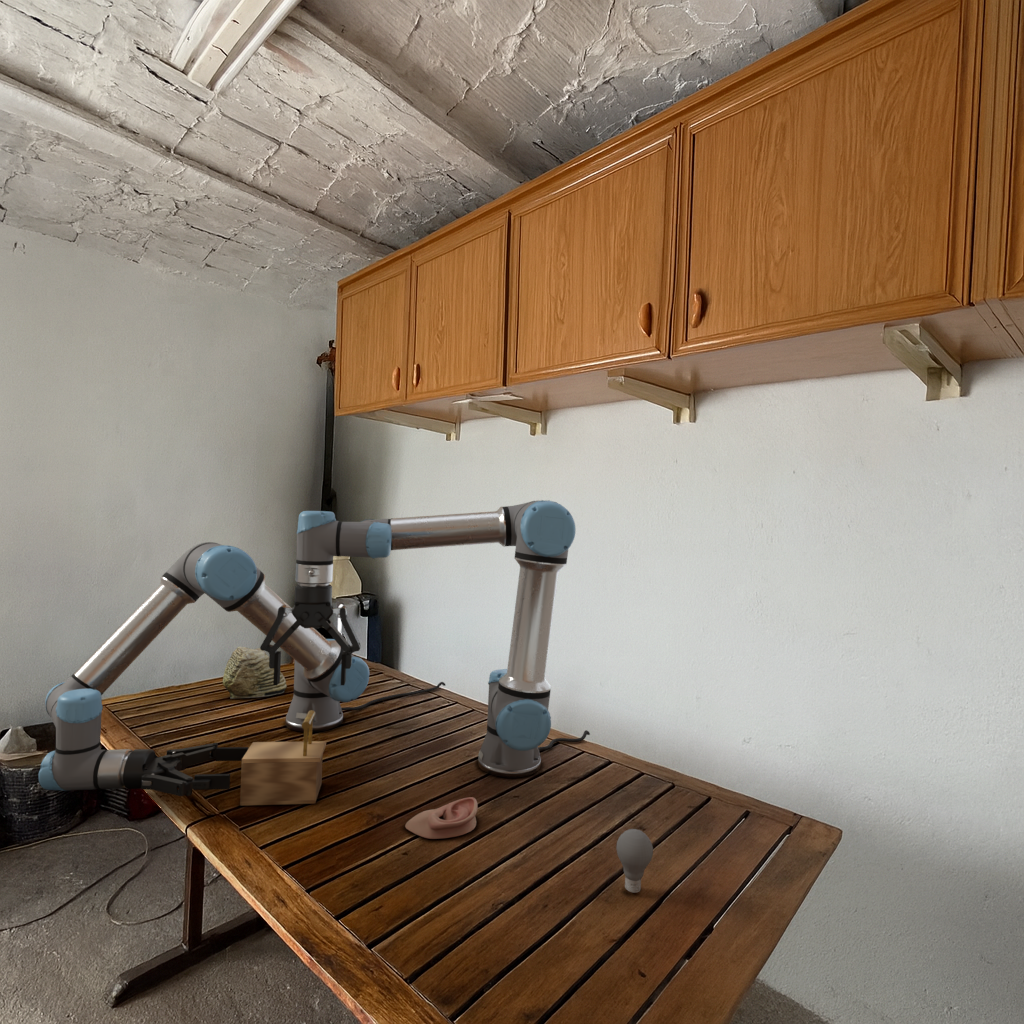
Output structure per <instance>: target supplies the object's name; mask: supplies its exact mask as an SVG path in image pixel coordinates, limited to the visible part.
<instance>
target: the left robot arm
mask: <svg viewBox="0 0 1024 1024" xmlns="http://www.w3.org/2000/svg"><path fill="white" fill-rule="evenodd" d="M204 594H205V595H206V596H208V598H210V599H211V600H213V602H215V603H216V604H217V605H218V606H220V607H221V608H222V609H223V610H224V611H226V612H228V613H232V612H237V613H239V614H240V615H241V616H242V617H244V618H245V619H246V620H247V621H248V622H249V623H251V624H252V626H254V627H256V629H258V630H259V631H260V632H261V633H262V634H263V635H265V637H266V636H267V634H268V632H269V631H270V629H271V627H272V625H273V623H274V622H275V620H276V618H277V614H278V609H279V607H281V606H282V605H285V606H286V607H291V606H290V605H289V604H288V603H287V602H286V601H284V599H282V598H281V597H280V596H279V595H278V594H277V593H276V592H275V591H274V590H273V589H271V588H270V587H269V586H268V585H267V584H266V574H265V573H264V572H263V571H262V570H261V569H259V568H258V567H257V564H256V562H255V561H254V559H253V558H252V557H251V556H250V555H249V554H248V553H247V552H246V551H244V550H243V549H242V548H240V547H236V546H233V545H226V544H221V543H218V542H212V541H207V542H201V543H198V544H196V545H194V546H192V547H190V548H189V549H188V550H186V551H185V552H184V553H183V554H182V555H181V556H180V557H179V558H178V559H177V560H176V561H175V562H173V564H172V565H171V566H170V567H169V568H168V569H167V570H166V572H164V573H163V574H162V575H161V577H160V584H159V585H158V586H157V587H156V588H155V589H154V590H153V591H152V592H151V593H150V594H149V595H148V596H147V597H146V599H144V601H142V602H141V603H140V605H139V606H137V608H135V610H133V612H132V613H131V614H129V616H128V617H126V619H125V620H124V621H123V622H122V623H121V624H120V625H119V626H118V627H117V628H116V629H115V630H114V631H113V632H112V633H111V634H110V635H109V636H108V637H107V638H106V640H105V641H104V642H103V643H102V644H101V645H99V646H98V648H97V649H96V650H95V651H94V652H93V653H92V654H91V655H89V657H88V658H87V659H86V660H85V661H84V662H83V663H82V664H81V665H80V666H79V667H78V668H77V669H76V670H75V671H74V672H73V673H72V674H71V675H70V676H69V677H68V678H67V679H66V680H65V681H63V682H60V683H58V684H56V685H54V686H53V687H51V689H49V691H48V692H47V693H46V696H45V699H44V704H45V711H46V713H47V715H48V716H49V717H50V718H51V721H52V723H53V725H54V727H55V750H52V751H49V752H48V753H47V754H46V755H45V756H44V757H43V759H42V760H41V763H40V769H39V771H38V783H39V785H40V787H41V788H42V789H43V790H46V791H63V792H70V791H85V790H86V791H89V790H110V791H111V792H114V791H116V790H123V789H125V788H126V789H127V790H148V791H149V790H152V791H155V792H159V793H164V794H168V795H173V796H178V797H184V796H187V797H190V796H192V795H193V791H203V790H204V791H206V790H208V791H209V790H211V791H212V790H229V789H230V788H231V773H213V774H212V773H205V774H204V773H203V774H201V773H200V774H194V775H193V776H191V775H188V774H186V773H185V772H182V771H184V770H186V769H187V768H188V767H192V766H195V765H199V764H203V763H207V762H210V761H213V760H215V762H237V761H238V762H242V758H243V757H244V755H245V754H246V752H247V751H248V749H249V746H228V747H226V746H223V747H222V746H221V747H220V746H219V743H218V742H213V743H206V744H201V745H195V746H189V747H184V748H174V749H168V750H166V754H165V755H163V756H157V754H156V751H155V750H154V749H153V748H152V749H151V748H145V749H144V748H136V749H131V748H122V749H102V748H101V742H102V741H101V734H102V715H103V714H102V713H103V709H104V706H103V704H102V703H103V702H102V701H103V699H102V698H103V697H102V696H103V694H104V693H105V692H106V691H107V690H108V689H109V688H110V687H112V685H113V684H114V682H116V681H117V679H118V678H119V677H121V675H123V673H124V672H125V671H126V670H127V669H128V668H129V667H130V666H131V664H132V663H133V662H134V661H135V660H136V659H137V658H139V656H140V655H141V654H142V652H144V651H145V650H146V649H147V647H148V646H149V645H150V644H151V643H153V641H154V640H155V639H156V638H157V637H158V636H159V635H160V634H162V632H163V631H164V630H165V628H166V627H168V625H170V624H171V622H172V621H173V620H174V619H176V617H177V616H178V615H179V614H180V613H181V612H182V611H183V610H184V608H185V607H186V606H187V605H190V604H195V603H196V602H197V601H198V600H199V598H201V597H202V596H203V595H204ZM296 621H297V620H296V619H295V617H294V616H293V614H292V613H289V615H288V616H287V617H285V618H284V620H283V621H282V623H281V625H280V627H279V629H278V630H277V632H276V634H275V636H274V637H273V639H272V641H271V642H273V643H274V644H275V643H276V642H277V641H278V640H279V639H280V638H281V637H282V636H283V634H284V633H285V632H286V631H287V630H288V629H289V628H290V627H291V626H292V625H293V624H294V623H295V622H296ZM279 649H281V650H282V651H284V652H285V653H286V654H287V655H288V656H289V657H291V658H292V659H293V660H294V672H293V695H292V696H293V697H292V699H291V702H290V704H289V708H288V711H287V713H286V715H285V726H286V728H287V729H289V730H291V731H294V732H295V731H296V732H301V733H304V729H303V728H302V724H303V722H304V720H305V718H306V716H307V714H308V712H309V711H310V710H313V711H315V717H314V719H313V728H312V733H316V732H325V731H329V730H332V729H335V728H337V727H339V726H340V725H342V723H343V722H344V713H343V711H344V712H345V711H358V710H362V709H364V708H366V707H368V706H370V705H372V704H376V703H378V702H382V701H385V700H389V699H395V698H400V697H406V696H413V695H419V694H423V693H429V692H432V691H437V689H439V688H440V687H441V686H445V687H446V683H445V682H444V681H440V682H439V683H438V684H437V685H435V686H433V687H430V688H425V689H421V690H415V691H410V692H403V693H402V692H401V693H396V694H392V695H387V696H382V697H379V698H375V699H372V700H369V701H368V702H366V703H364V704H361V705H358V706H344V707H343V706H341V703H350V702H353V701H355V700H356V699H358V698H359V697H361V695H362V694H363V693H364V692H365V690H366V689H367V687H368V684H369V682H370V668H369V665H368V664H367V662H366V661H365V660H364V659H362V658H361V657H359V656H356V655H354V654H352V665H351V667H350V669H346V682H345V685H341V662H342V653H343V652H345V651H344V650H343V649H342V648H341V647H340V645H339V644H338V643H337V642H336V641H335V639H334V638H326V637H324V635H322V634H321V633H320V632H319V631H318V630H317V629H316V628H312V627H311V628H304V627H302V626H299V627H298V628H297V629H296V630H295V631H294V632H293V633H292V634H291V635H290V637H289V638H288V639H287V640H286V641H285V642H284V643H283V644H282V645H281V646H280V647H279ZM308 733H309V729H308Z"/></svg>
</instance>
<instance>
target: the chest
mask: <svg viewBox="0 0 1024 1024" xmlns="http://www.w3.org/2000/svg"><path fill="white" fill-rule="evenodd" d="M323 757H324V754H323V755H322V758H321V761H320V762H285V763H242V762H241V769H240V772H241V773H240V793H239V795H240V798H239V799H240V800H239V806H242V807H243V806H278V805H281V806H282V805H309V804H310V805H311V804H313V805H314V804H316V802H317V799H318V796H319V792H320V790H321V787H322V785H323V784H322V783H323V782H322V780H323Z"/></svg>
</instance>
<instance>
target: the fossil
mask: <svg viewBox="0 0 1024 1024" xmlns="http://www.w3.org/2000/svg"><path fill="white" fill-rule="evenodd" d="M222 676H223V677H222V685H223V687H224V688H225V690H226V691H228V693H229V698H230V699H250V698H264V697H271V696H275V695H281V694H284V693H285V691H286V689H287V687H288V686H287V680H286V678H285V676H284V674H283V673H282V672H281V671H280V682H279V684H278V685H273V684H274V668H270V667H269V654H267V653H266V651H262V650H261V649H260V647H258V648H251V647H247V646H246V647H245V646H238V647H237V648H236V649H235V650H233V651H232V653H231V656H230V657H229V659H228V660H227V663H226V666H225V668H224V671H223V675H222Z"/></svg>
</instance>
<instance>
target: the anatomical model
mask: <svg viewBox="0 0 1024 1024" xmlns="http://www.w3.org/2000/svg"><path fill="white" fill-rule="evenodd" d="M478 805H479V804H478V801H477V799H476V798H475V797H471V796H469V797H464V798H460V799H457V800H454V801H452V802H449V803H446V804H444V805H442V806H440V807H437V808H435V809H427V810H424V811H421V812H419V813H417V814H416V815H413V816H412V817H411V818H410V819H409V820H408V821H407V822H406V823H405V825H404V827H405V829H406V830H408V831H409V832H411V833H413V834H415V835H416V836H418V837H422V838H424V839H427V840H428V839H430V840H437V839H438V840H439V839H449V838H455V837H459V836H463V835H466V834H468V833H470V832H472V831H473V830H474V829H475V828H476V826H477V818H476V815H477V813H478V807H479V806H478Z"/></svg>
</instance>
